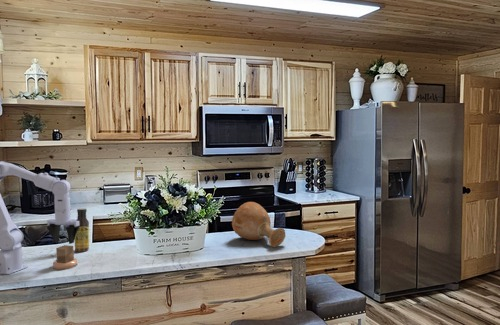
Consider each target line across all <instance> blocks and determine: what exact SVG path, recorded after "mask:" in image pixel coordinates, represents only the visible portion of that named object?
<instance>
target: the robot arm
mask: <svg viewBox="0 0 500 325" xmlns="http://www.w3.org/2000/svg"><path fill="white" fill-rule="evenodd" d="M6 176H15V177H18V178H20V179H24V180H26V181H27V180H28V181H31V182H33V184H34V185H35V187H38V188H41V189H43V190H45V191H48V192H52V194H53V197H54V219H53V218H51V219H47V220H46V223H47V224H46V225H47V227H46V229H47V230H48V232H49V233H50V235H51V238H52V241H53V243H59V242H60V230H61V226H66V227H65V230H66V232H67V237H68V238H67V240H68V244H69V245H71V244H75V236H76V233H77V231H78V229H79V221H76V220H77V219H76V220H75V219H73V218H72V217H71V198H70V191H71V189H72V185H71V183H70V181H68V180H66V179H61V178H59V177H55V176H51V175H50V174H49V173H48V172H44V173H43V172H40V173H38V174H37V173H35V172H32V171H30V170H28V169H25V168H23V167H20V166H18V165H16V164H14V163H10V162H6V161H4V160H3V161H2V160H0V182H1V181H3V179H4V178H6ZM18 227H19V226H18V225H16V224H15V223H14V222H13V221H12V218H11V215H10V213H9V211H8V208H7V207H6V204H5V201H4V199H3V197H2V194H1V193H0V275H10V274H13V273H16V272H18V271H21V270H24V269H26V268H28V267H29V266H28V265H24V264H23V249H22V247H23V246H22V241H23V240H24V233H23V231H21V230H20V229H19V228H18Z"/></svg>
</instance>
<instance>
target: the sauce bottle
mask: <svg viewBox="0 0 500 325" xmlns="http://www.w3.org/2000/svg"><path fill="white" fill-rule="evenodd" d="M76 213H77V217H76V221H79V229H78V231H77V233H76V236H75V240H74V251H75V252H76V253H84V252H87V251H88V250H90V225H89V224H90V221H89V220H88V219H87V208H86V207H84V208H83V207H82V208H81V207H80V208H77V209H76Z"/></svg>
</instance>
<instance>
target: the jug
mask: <svg viewBox="0 0 500 325" xmlns="http://www.w3.org/2000/svg"><path fill="white" fill-rule="evenodd" d="M231 226H232V229H233V231H234V233H235V234H236V235H238V236H239V237H240V238H242V239H245V240H249V241H257V240H259V241H260V240H261V239H263V238H265V237H266V238H267V241H268V242H269V245H270V246H271V247H273V248H276V247H279V246H280V245H282V244H283V242H284V241H285V238H286V230H285V229H284V228H282V227H278V228H275V229H273V228H271V218H270V216H269V213H268V212H267V211H266V209H265V208H264V207H263V206H262V205H261V204H259V203H257V202H255V201H247V202H244V203H243V204H241V205H240V206H239V207H238V208H236V211H234V214H233V216H232V219H231Z"/></svg>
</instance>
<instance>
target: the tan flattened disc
mask: <svg viewBox="0 0 500 325" xmlns="http://www.w3.org/2000/svg"><path fill="white" fill-rule="evenodd" d="M76 265H77V266H78V259H77V258H75V257H74V260H73V261H70V262H68V263H58V262H57V259H56V260H54V261H53V262H52V268H53V270H59V271H61V270H62V271H63V270H69V269H73V268H75V267H77V266H76Z"/></svg>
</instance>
